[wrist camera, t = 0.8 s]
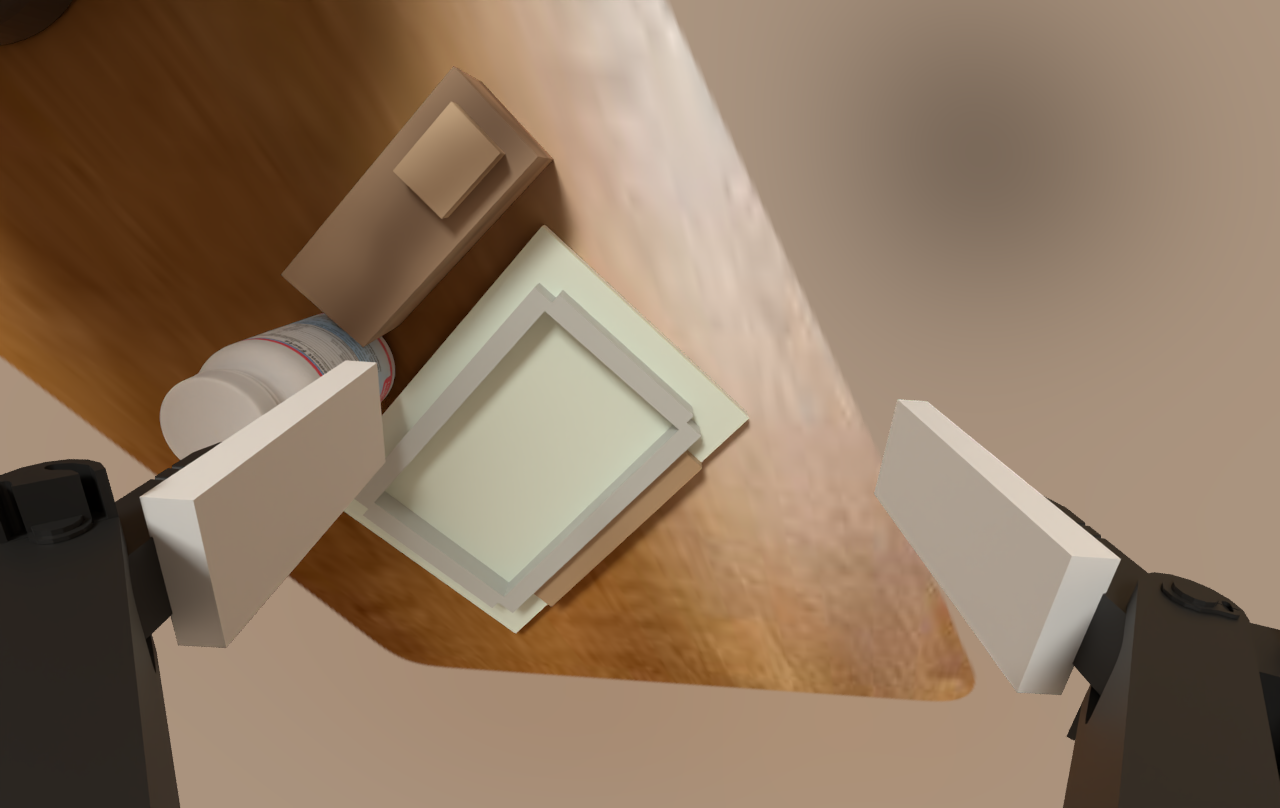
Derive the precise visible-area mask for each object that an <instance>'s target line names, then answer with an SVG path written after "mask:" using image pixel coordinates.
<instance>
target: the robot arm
mask: <svg viewBox="0 0 1280 808" xmlns="http://www.w3.org/2000/svg"><path fill="white" fill-rule="evenodd" d="M71 2H72V0H0V45H4V44H9V43H13V42H17V41H20V40H23V39H26V38H28V37H31V36H33V35H35V34H37V33H38V32H40V31H42V30H44V29H45V28H46V27H48V26H49V25H50V24H52V23H53V22H54V21H55V20H56V19H57V18H58V17H60V16H61V14H62V13H63V12H64V11H65V10H66V9H67V8H68V6H69V5H70V3H71ZM385 462H386V459H385V448H384V437H383V425H382V414H381V402H380V391H379V380H378V368H377V363H376V362H362V361H348V360H346V361H344V362H343V363H341V364H340V365H338V366H336V367H335V368H333V369H332V370H330V371H329V372H327V373H326V374H324V375H323V376H321V377H320V378H318V379H317V380H315V381H314V382H312V383H311V384H309V385H308V386H306V387H305V388H303V389H302V390H300V391H299V392H297V393H296V394H294V395H293V396H291V397H290V398H288V399H287V400H285V401H284V402H282V403H281V404H279V405H278V406H276V407H275V408H273V409H272V410H270V411H269V412H267V413H266V414H264V415H262V416H261V417H259V418H258V419H256V420H255V421H253V422H252V423H250V424H249V425H247V426H246V427H244V428H243V429H241V430H240V431H238V432H237V433H235V434H234V435H232V436H231V437H229V438H228V439H226V440H225V441H223V442H219V443H216V444H214V445H211V446H208V447H206V448H203V449H200V450H198V451H195V452H193V453H191V454H189V455H188V456H186V457H185V458H183V459H182V460H180V461H179V462H177V463H175V464H174V465H172V468H168V469H166V470H165V471H163V472H161V473H160V474H158V475H157V476H155V480H153V479H151V480H149V481H147V482H146V483H144V484H143V485H141V486H140V487H138V488H136V489H135V490H133V491H132V492H131V493H129V494H127V495H126V496H124V497H123V498H121V499H119V500H118V501H116V502H114V498H113V494H112V490H111V487H110V483H109V480H108V476H107V473H106V469H105V468H104V467H103V465H102V464H101V463H99V462H95V461H90V460H78V459H76V460H75V459H67V460H59V461H51V462H44V463H40V464H36V465H32V466H27V467H23V468H19V469H17V470H14V471H11V472H8V473H5V474H3V475H0V808H180V803H179V796H178V790H177V783H176V777H175V770H174V764H173V757H172V750H171V744H170V737H169V731H168V724H167V718H166V711H165V704H164V698H163V691H162V685H161V678H160V671H159V665H158V659H157V652H156V648H155V644H154V641H153V637H152V633H153V632H154V631H155V630H156V629H157V628H158V627H159V626H160V625H161V624H162V623H163V622H165V621H166V620H167V619H168V618H169V617H170V616H171V619H172V623H173V627H174V631H175V635H176V639H177V642H178V645H184V646H201V647H219V648H226V647H228V645H229V644H230V643H231V642H232V641H233V640H234V638H235V637H236V636H237V635H238V633H240V631H241V630H242V629H243V628H244V627H245V626H246V624H247V623H248V622H249V621H250V620H251V619H252V617H253V616H254V615H255V614H256V613H257V611H258V610H259V609H260V608H261V607H262V606H263V605H264V603H265V602H266V601H267V600H268V599H269V597H270V596H271V595H272V594H273V593H274V592H275V590H276V589H277V588H278V587H279V586H280V585H281V583H282V582H283V581H284V580H285V579H286V578H287V576H288V575H289V574H290V573H291V572H292V571H293V569H294V568H295V567H296V566H297V565H298V564H299V562H300V561H301V560H302V559H303V558H304V557H305V555H306V554H307V553H308V552H309V551H310V550H311V548H312V547H313V546H314V545H315V544H316V543H317V541H318V540H319V539H320V538H321V537H322V536H323V534H324V533H325V532H326V531H327V530H328V529H329V527H330V526H331V525H332V524H333V523H334V522H335V520H336V519H337V518H338V517H339V516H340V515H341V513H342V512H343V511H344V510H345V509H346V508H347V506H348V505H349V504H350V503H351V502H352V501H353V499H354V498H355V497H356V496H357V495H358V494H359V492H360V491H361V490H362V489H363V488H364V487H365V485H366V484H367V483H368V482H369V481H370V480H371V478H372V477H373V476H374V475H375V474H376V473H377V471H378V470H379V469H380V468H381V467H382V466H383V464H384V463H385ZM874 494H875V496H876V497H877V499H878V500H879V501H880V503H881V504H882V506H883V507H884V508H885V510H886V511H887V513H888V514H889V515H890V517H891V518H892V519H893V521H894V522H895V524H896V525H897V526H898V528H899V529H900V531H901V532H902V533H903V535H904V536H905V538H906V539H907V540H908V542H909V543H910V545H911V546H912V547H913V549H914V550H915V551H916V553H917V554H918V556H919V557H920V558H921V560H922V561H923V563H924V564H925V565H926V567H927V568H928V570H929V571H930V572H931V574H932V575H933V576H934V578H935V579H936V581H937V582H938V583H939V585H940V586H941V588H942V589H943V590H944V592H945V593H946V595H947V596H948V597H949V599H950V600H951V601H952V603H953V604H954V605H955V607H956V608H957V610H958V611H959V613H960V614H961V615H962V617H963V618H964V620H965V621H966V622H967V624H968V625H969V626H970V628H971V629H972V631H973V632H974V633H975V635H976V636H977V637H978V639H979V640H980V642H981V643H982V644H983V646H984V647H985V649H986V650H987V652H988V653H989V654H990V656H991V657H992V658H993V660H994V661H995V663H996V664H997V665H998V667H999V668H1000V669H1001V671H1002V672H1003V674H1004V675H1005V677H1006V678H1007V679H1008V681H1009V682H1010V683H1011V685H1012V686H1013V688H1014V689H1015V690H1016V692H1018V693H1035V694H1053V695H1061V694H1062V692H1063V690H1064V688H1065V685H1066V683H1067V681H1068V678H1069V676H1070V674H1071V672H1072V669H1073V667H1074V666H1075V667H1076V668H1077V669H1078V671H1079V672H1080V673H1081V674H1082V675H1083V676H1084V678H1085V679H1086V680H1087V681H1088V682H1089V683H1090V687H1089V689H1088V691H1087V693H1086V695H1085V697H1084V700H1083V702H1082V704H1081V706H1080V708H1079V710H1078V713H1077V715H1076V717H1075V719H1074V721H1073V724H1072V726H1071V728H1070V730H1069V732H1068V735H1067V737H1069V738H1070V739H1072V740H1075V745H1074V750H1073V756H1072V761H1071V767H1070V772H1069V778H1068V783H1067V789H1066V795H1065V800H1064V805H1063V808H1280V630H1278V629H1273V628H1269V627H1265V626H1261V625H1257V624H1253V623H1250V622H1249V619H1248V618H1247V616H1246V614H1245V613H1244V611H1243V610H1242V609H1241V608H1239V607H1238V606H1237V605H1236V604H1235V603H1233V602H1232V601H1231V600H1229V599H1228V598H1226V597H1224V596H1223V595H1221V594H1219V593H1217V592H1216V591H1214V590H1212V589H1210V588H1208V587H1205V586H1203V585H1201V584H1198V583H1196V582H1194V581H1191V580H1188V579H1184V578H1181V577H1178V576H1174V575H1170V574H1163V573H1155V572H1154V573H1147V572H1146V571H1145V570H1143V569H1142V568H1141V567H1140V566H1138V565H1137V564H1136V563H1135V562H1133V561H1132V560H1131V559H1130V558H1128V557H1127V556H1126V555H1125V554H1123V553H1122V552H1121V551H1120V550H1118V549H1117V548H1116V547H1115V546H1113V545H1112V544H1111V543H1110V542H1108V541H1107V540H1106V539H1102V538H1101V535H1100V534H1098V533H1097V532H1096V531H1095V530H1093V529H1092V528H1091V527H1090V526H1085V522H1083V521H1082V520H1081V519H1080V518H1078V517H1077V516H1076V515H1074V514H1073V513H1072V512H1071V511H1070V510H1068V509H1067V508H1065V507H1064V506H1061V505H1060V504H1058V503H1056V502H1054V501H1052V500H1050V499H1048V498H1046V497H1045V496H1043V495H1042V494H1040V493H1039V492H1038V491H1037V490H1035V489H1034V488H1033V487H1031V486H1030V485H1029V484H1028V483H1027V482H1025V481H1024V480H1023V479H1022V478H1021V477H1019V476H1018V475H1017V474H1016V473H1014V472H1013V471H1012V470H1011V469H1010V468H1008V467H1007V466H1006V465H1005V464H1003V463H1002V462H1001V461H1000V460H998V459H997V458H996V457H995V456H994V455H992V454H991V453H990V452H989V451H987V450H986V449H985V448H984V447H982V446H981V445H980V444H979V443H977V442H976V441H975V440H974V439H973V438H971V437H970V436H969V435H968V434H966V433H965V432H964V431H963V430H962V429H960V428H959V427H958V426H957V425H956V424H954V423H953V422H952V421H951V420H949V419H948V418H947V417H946V416H944V415H943V414H942V413H941V412H939V411H938V410H937V409H936V408H935V407H933V406H932V405H931V404H929V403H928V402H927V401H913V400H899V399H898V400H897V404H896V408H895V412H894V416H893V420H892V424H891V428H890V432H889V436H888V440H887V444H886V448H885V452H884V456H883V460H882V464H881V468H880V472H879V476H878V480H877V484H876V488H875V492H874Z"/></svg>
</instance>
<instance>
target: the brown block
mask: <svg viewBox="0 0 1280 808" xmlns="http://www.w3.org/2000/svg"><path fill="white" fill-rule="evenodd" d="M552 160H553V158H552V157H551V156H550V155H549V154H548V153H547V152H546V151H545V150H544V149H543V148H542V146H541V145H540V144H539V143H538V142H537V141H536V140H535V139H534V138H533V137H532V136H531V135H530V133H529V132H528V131H527V130H526V129H525V128H524V127H523V126H522V125H521V124H520V123H519V122H518V121H517V119H516V118H515V117H514V116H513V115H512V114H511V113H510V112H509V111H508V110H507V109H506V108H505V106H504V105H503V104H502V103H501V102H500V101H499V100H498V99H497V98H496V97H495V96H494V95H493V94H492V92H491V91H490V90H489V89H488V88H487V87H486V86H485V85H484V84H483V83H482V82H481V81H479V80H477V79H476V78H474V77H472V76H470V75H469V74H467V73H465V72H463V71H462V70H460V69H458V68H456V67H455V66H453V67H452V69H451V70H450V71H449V72H448V73H447V75H446V76H445V77H444V78H443V79H442V81H441V82H440V83H439V84H438V85H437V87H436V88H435V89H434V90H433V91H432V93H431V94H430V95H429V96H428V98H427V99H426V100H425V101H424V102H423V104H422V105H421V106H420V107H419V108H418V110H417V111H416V112H415V113H414V114H413V116H412V117H411V118H410V119H409V120H408V122H407V123H406V124H405V125H404V127H403V128H402V129H401V130H400V131H399V133H398V134H397V135H396V136H395V137H394V139H393V140H392V141H391V142H390V143H389V145H388V146H387V147H386V148H385V149H384V151H383V152H382V153H381V154H380V156H379V157H378V158H377V159H376V160H375V162H374V163H373V164H372V165H371V166H370V168H369V169H368V170H367V171H366V172H365V174H364V175H363V176H362V177H361V178H360V180H359V181H358V182H357V183H356V185H355V186H354V187H353V188H352V189H351V191H350V192H349V193H348V194H347V195H346V197H345V198H344V199H343V200H342V201H341V203H340V204H339V205H338V206H337V207H336V209H335V210H334V211H333V212H332V214H331V215H330V216H329V217H328V218H327V220H326V221H325V222H324V223H323V224H322V226H321V227H320V228H319V229H318V230H317V232H316V233H315V234H314V235H313V236H312V238H311V239H310V240H309V241H308V242H307V244H306V245H305V246H304V247H303V249H302V250H301V251H300V252H299V253H298V255H297V256H296V257H295V258H294V259H293V261H292V262H291V263H290V264H289V265H288V267H287V268H286V269H285V270H284V271H283V273H282V274H281V276H283V277H284V278H285V279H286V280H287V281H288V282H289V283H290V284H292V285H293V286H294V287H295V288H296V289H297V290H298V291H300V292H301V293H302V294H303V295H304V296H305V297H306V298H308V299H309V300H310V301H311V302H312V303H313V304H314V305H316V306H317V307H318V308H319V309H320V310H321V311H322V312H324V313H325V314H326V315H327V316H328V317H329V318H330V319H332V320H333V321H334V322H335V323H336V324H337V325H338V326H340V327H341V328H342V329H343V330H344V331H345V332H346V333H347V334H349V335H350V336H351V337H352V338H353V339H354V340H355V341H357V342H358V343H359V344H360V345H361V346H362V347H364V346H366V345H368V344H369V343H371V342H373V341H374V340H376V339H378V338H379V337H381V336H383V335H384V334H386V333H388V332H389V331H391V330H393V329H394V328H396V327H398V326H399V325H400V324H401V323H402V322H403V321H404V320H405V319H406V318H407V317H408V316H409V315H410V313H411V312H412V311H413V310H414V309H415V308H416V307H417V306H418V305H419V304H420V303H421V302H422V301H423V299H424V298H425V297H426V296H427V295H428V294H429V293H430V292H431V291H432V290H433V289H434V288H435V287H436V285H437V284H438V283H439V282H440V281H441V280H442V279H443V278H444V277H445V276H446V275H447V274H448V273H449V271H450V270H451V269H452V268H453V267H454V266H455V265H456V264H457V263H458V262H459V261H460V260H461V258H462V257H463V256H464V255H465V254H466V253H467V252H468V251H469V250H470V249H471V248H472V247H473V246H474V244H475V243H476V242H477V241H478V240H479V239H480V238H481V237H482V236H483V235H484V234H485V233H486V232H487V230H488V229H489V228H490V227H491V226H492V225H493V224H494V223H495V222H496V221H497V220H498V219H499V217H500V216H501V215H502V214H503V213H504V212H505V211H506V210H507V209H508V208H509V207H510V206H511V205H512V203H513V202H514V201H515V200H516V199H517V198H518V197H519V196H520V195H521V194H522V193H523V192H524V191H525V189H526V188H527V187H528V186H529V185H530V184H531V183H532V182H533V181H534V180H535V179H536V178H537V176H538V175H539V174H540V173H541V172H542V171H543V170H544V169H545V168H546V167H547V166H548V165H549V164H550V162H551V161H552Z"/></svg>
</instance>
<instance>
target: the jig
mask: <svg viewBox="0 0 1280 808" xmlns="http://www.w3.org/2000/svg"><path fill="white" fill-rule="evenodd" d="M748 419H749V416H748V414H747V412H746V411H745V410H744V409H743V408H742V407H741V406H740V405H739V404H738V403H736V402H735V401H734V400H733V399H732V398H731V397H730V396H729V395H728V394H727V393H726V392H725V391H724V390H723V389H721V388H720V387H719V386H718V385H717V384H716V383H715V382H714V381H713V380H712V379H711V378H710V377H709V376H707V375H706V374H705V373H704V372H703V371H702V370H701V369H700V368H699V367H698V366H697V365H696V364H695V363H693V362H692V361H691V360H690V359H689V358H688V357H687V356H686V355H685V354H684V353H683V352H682V351H681V350H679V349H678V348H677V347H676V346H675V345H674V344H673V343H672V342H671V341H670V340H669V339H668V338H667V337H665V336H664V335H663V334H662V333H661V332H660V331H659V330H658V329H657V328H656V327H655V326H654V325H653V324H651V323H650V322H649V321H648V320H647V319H646V318H645V317H644V316H643V315H642V314H641V313H640V312H639V311H637V310H636V309H635V308H634V307H633V306H632V305H631V304H630V303H629V302H628V301H627V300H626V299H625V298H623V297H622V296H621V295H620V294H619V293H618V292H617V291H616V290H615V289H614V288H613V287H612V286H611V285H610V284H608V283H607V282H606V281H605V280H604V279H603V278H602V277H601V276H600V275H599V274H598V273H597V272H596V271H594V270H593V269H592V268H591V267H590V266H589V265H588V264H587V263H586V262H585V261H584V260H583V259H582V258H580V257H579V256H578V255H577V254H576V253H575V252H574V251H573V250H572V249H571V248H570V247H569V246H568V245H566V244H565V243H564V242H563V241H562V240H561V239H560V238H559V237H558V236H557V235H556V234H555V233H554V232H552V231H551V230H550V229H549V228H548V227H547V226H546V225H543V226H542V227H541V228H540V229H539V230H538V231H537V233H536V234H535V235H534V236H533V237H532V239H531V240H530V241H529V242H528V243H527V244H526V246H525V247H524V248H523V249H522V250H521V252H520V253H519V254H518V255H517V256H516V257H515V259H514V260H513V261H512V262H511V263H510V265H509V266H508V267H507V268H506V269H505V270H504V272H503V273H502V274H501V275H500V276H499V278H498V279H497V280H496V281H495V282H494V284H493V285H492V286H491V287H490V288H489V289H488V291H487V292H486V293H485V294H484V295H483V297H482V298H481V299H480V300H479V301H478V302H477V304H476V305H475V306H474V307H473V308H472V310H471V311H470V312H469V313H468V314H467V315H466V317H465V318H464V319H463V320H462V321H461V323H460V324H459V325H458V326H457V327H456V328H455V330H454V331H453V332H452V333H451V334H450V336H449V337H448V338H447V339H446V340H445V341H444V343H443V344H442V345H441V346H440V347H439V349H438V350H437V351H436V352H435V353H434V355H433V356H432V357H431V358H430V359H429V360H428V362H427V363H426V364H425V365H424V366H423V368H422V369H421V370H420V371H419V372H418V373H417V375H416V376H415V377H414V378H413V379H412V381H411V382H410V383H409V384H408V385H407V386H406V388H405V389H404V390H403V391H402V392H401V394H400V395H399V396H398V397H397V398H396V399H395V401H394V402H393V403H392V404H391V405H390V407H389V408H388V409H387V410H386V411H385V412H384V414H383V415H382V425H383V437H384V448H385V459H386V462H385V463H384V464H383V466H382V467H381V468H380V469H379V470H378V471H377V473H376V474H375V475H374V476H373V477H372V478H371V480H370V481H369V482H368V483H367V484H366V485H365V487H364V488H363V489H362V490H361V491H360V492H359V494H358V495H357V496H356V497H355V498H354V499H353V501H352V502H351V503H350V504H349V505H348V506H347V508H346V509H345V510H344V512H346V513H347V514H348V515H350V516H351V517H353V518H354V519H355V520H357V521H358V522H360V523H361V524H362V525H364V526H365V527H367V528H368V529H370V530H371V531H372V532H374V533H375V534H377V535H378V536H379V537H381V538H382V539H384V540H385V541H386V542H388V543H389V544H391V545H392V546H393V547H395V548H396V549H398V550H399V551H400V552H402V553H403V554H405V555H406V556H407V557H409V558H410V559H412V560H413V561H414V562H416V563H417V564H419V565H420V566H421V567H423V568H424V569H426V570H427V571H428V572H430V573H431V574H433V575H434V576H436V577H437V578H438V579H440V580H441V581H443V582H444V583H445V584H447V585H448V586H450V587H451V588H452V589H454V590H455V591H457V592H458V593H459V594H461V595H462V596H464V597H465V598H466V599H468V600H469V601H471V602H472V603H473V604H475V605H476V606H478V607H479V608H480V609H482V610H483V611H485V612H486V613H487V614H489V615H490V616H492V617H493V618H494V619H496V620H497V621H499V622H500V623H502V624H503V625H504V626H506V627H507V628H509V629H510V630H511V631H513V632H514V633H517V632H518V631H519V630H520V629H521V628H522V627H523V626H524V625H526V624H527V623H528V622H529V621H530V620H531V619H532V618H533V617H534V616H535V615H536V614H537V613H539V612H540V611H541V610H542V609H543V608H544V607H545V606H546V605H547V604H548V605H549V606H551V607H552V606H553V605H554V604H555V603H556V602H557V601H558V600H560V599H561V598H562V597H563V596H564V595H565V594H566V593H567V592H568V591H569V590H570V589H572V588H573V587H574V586H575V585H576V584H577V583H578V582H579V581H580V580H581V579H582V578H584V577H585V576H586V575H587V574H588V573H589V572H590V571H591V570H592V569H593V568H594V567H595V566H597V565H598V564H599V563H600V562H601V561H602V560H603V559H604V558H605V557H606V556H607V555H609V554H610V553H611V552H612V551H613V550H614V549H615V548H616V547H617V546H618V545H619V544H621V543H622V542H623V541H624V540H625V539H626V538H627V537H628V536H629V535H630V534H631V533H633V532H634V531H635V530H636V529H637V528H638V527H639V526H640V525H641V524H642V523H643V522H645V521H646V520H647V519H648V518H649V517H650V516H651V515H652V514H653V513H654V512H655V511H656V510H658V509H659V508H660V507H661V506H662V505H663V504H664V503H665V502H666V501H667V500H668V499H670V498H671V497H672V496H673V495H674V494H675V493H676V492H677V491H678V490H679V489H680V488H682V487H683V486H684V485H685V484H686V483H687V482H688V481H689V480H690V479H691V478H692V477H694V476H695V475H696V474H697V473H698V472H699V471H700V470H701V469H702V463H701V462H702V461H703V460H704V459H706V458H707V457H708V456H709V455H710V454H711V453H712V452H713V451H714V450H715V449H716V448H717V447H719V446H720V445H721V444H722V443H723V442H724V441H725V440H726V439H727V438H728V437H729V436H730V435H732V434H733V433H734V432H735V431H736V430H737V429H738V428H739V427H740V426H741V425H742V424H744V423H745V422H746V421H747V420H748Z"/></svg>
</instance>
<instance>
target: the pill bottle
mask: <svg viewBox="0 0 1280 808" xmlns="http://www.w3.org/2000/svg"><path fill="white" fill-rule="evenodd" d="M346 360H348V361H362V362H376V363H377V368H378V380H379V391H380V402H381V401H383V400H384V398H385V397H386V396H387V395H388V393H389V392H390V390H391V388H392V385H393V382H394V378H395V363H394V358H393V355H392V352H391V350H390V348H389V346H388V345H387V343H386V341H385V340H384V338H383V337H382V336H381V337H379V338H378V339H376V340H374V341H373V342H371V343H369V344H368V345H366V346H364V347H362V346H361V345H360V344H359V343H358V342H357V341H355V340H354V339H353V338H352V337H351V336H350V335H349V334H347V333H346V332H345V331H344V330H343V329H342V328H341V327H340V326H338V325H337V324H336V323H335V322H334V321H333V320H332V319H330V318H329V317H328V316H327V315H326V314H325V313H321V314H318V315H315V316H312V317H309V318H306V319H303V320H300V321H297V322H294V323H291V324H288V325H285V326H282V327H279V328H276V329H273V330H271V331H268V332H265V333H262V334H259V335H256V336H253V337H250V338H247V339H245V340H242V341H239V342H236V343H234V344H231V345H229V346H226V347H224V348H222V349H220V350H219V351H217V352H216V353H214V354H213V355H212V356H211V357H210V358H209V359H208V360H207V361H206V362H205V363H204V365H203V366H202V368H201V369H200V371H199V373H198V374H196V375H194V376H193V377H190V378H188V379H186V380H183V381H181V382H180V383H178V384H177V385H175V386H174V387H173V388H172V389H171V390H170V391H169V392H168V393H167V395H166V396H165V398H164V400H163V402H162V405H161V410H160V424H161V429H162V432H163V435H164V438H165V440H166V442H167V444H168V445H169V447H170V448H171V450H172V451H173V453H174V454H175V455H176V456H177V457H178V458H179V459H180V460H182V459H183V458H185V457H186V456H188V455H189V454H191V453H193V452H195V451H198V450H200V449H203V448H206V447H208V446H211V445H214V444H216V443H219V442H223V441H225V440H226V439H228V438H229V437H231V436H232V435H234V434H235V433H237V432H238V431H240V430H241V429H243V428H244V427H246V426H247V425H249V424H250V423H252V422H253V421H255V420H256V419H258V418H259V417H261V416H262V415H264V414H266V413H267V412H269V411H270V410H272V409H273V408H275V407H276V406H278V405H279V404H281V403H282V402H284V401H285V400H287V399H288V398H290V397H291V396H293V395H294V394H296V393H297V392H299V391H300V390H302V389H303V388H305V387H306V386H308V385H309V384H311V383H312V382H314V381H315V380H317V379H318V378H320V377H321V376H323V375H324V374H326V373H327V372H329V371H330V370H332V369H333V368H335V367H336V366H338V365H340V364H341V363H343V362H344V361H346Z"/></svg>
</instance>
